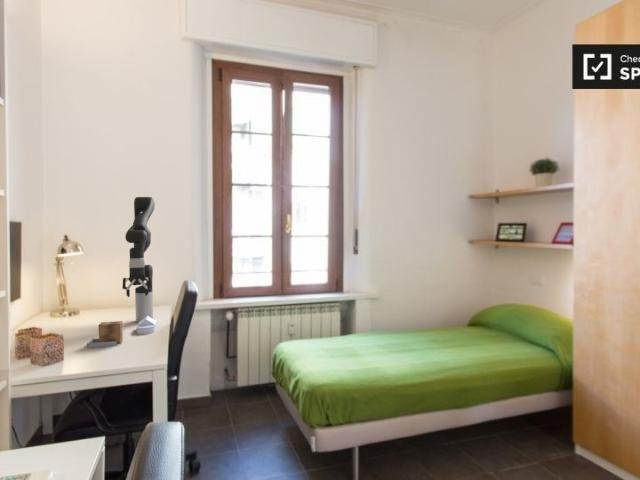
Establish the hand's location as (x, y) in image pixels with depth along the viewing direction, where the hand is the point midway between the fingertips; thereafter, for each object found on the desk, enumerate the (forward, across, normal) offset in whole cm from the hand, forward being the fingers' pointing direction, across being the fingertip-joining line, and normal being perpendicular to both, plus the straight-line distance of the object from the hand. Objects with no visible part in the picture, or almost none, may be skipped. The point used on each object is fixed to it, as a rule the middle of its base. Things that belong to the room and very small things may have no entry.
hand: (137, 296), depth 206 cm
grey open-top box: (+19, +13, +24) cm, 33 cm away
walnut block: (+19, +10, +24) cm, 32 cm away
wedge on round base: (+18, -5, +6) cm, 20 cm away
